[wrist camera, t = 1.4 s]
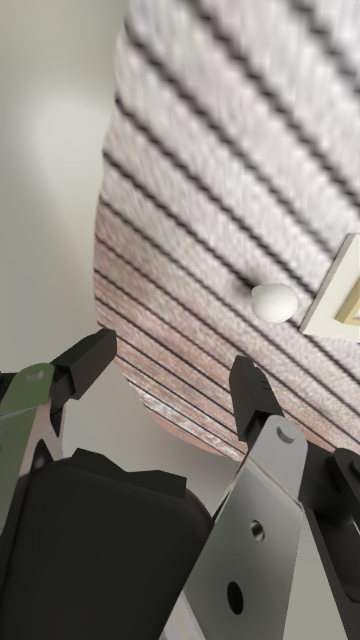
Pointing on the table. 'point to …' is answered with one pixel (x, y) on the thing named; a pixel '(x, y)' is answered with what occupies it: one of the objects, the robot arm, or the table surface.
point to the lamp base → (338, 297)
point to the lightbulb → (274, 302)
